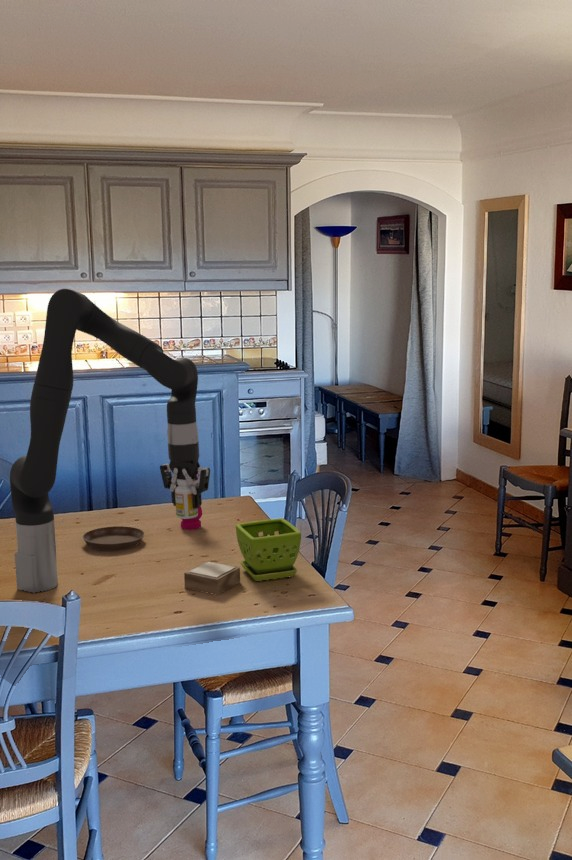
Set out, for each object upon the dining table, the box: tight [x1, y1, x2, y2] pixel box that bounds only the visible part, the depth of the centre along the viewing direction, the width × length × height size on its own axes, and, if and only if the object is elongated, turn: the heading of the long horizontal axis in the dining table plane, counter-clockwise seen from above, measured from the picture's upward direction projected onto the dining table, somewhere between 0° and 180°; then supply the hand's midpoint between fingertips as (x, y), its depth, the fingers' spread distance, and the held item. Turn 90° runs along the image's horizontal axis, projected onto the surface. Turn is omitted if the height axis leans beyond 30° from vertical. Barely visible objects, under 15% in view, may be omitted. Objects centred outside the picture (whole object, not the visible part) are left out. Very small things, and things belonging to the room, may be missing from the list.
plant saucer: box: [82, 525, 145, 552], centre depth 252 cm, size 18×18×3 cm
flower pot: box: [235, 518, 302, 582], centre depth 224 cm, size 14×14×13 cm
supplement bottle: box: [175, 479, 198, 520], centre depth 214 cm, size 5×5×10 cm
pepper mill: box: [180, 472, 203, 531], centre depth 266 cm, size 7×7×20 cm
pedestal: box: [183, 560, 241, 595], centre depth 217 cm, size 10×10×4 cm
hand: (187, 506), depth 215 cm, fingers closed on supplement bottle, 5 cm apart
